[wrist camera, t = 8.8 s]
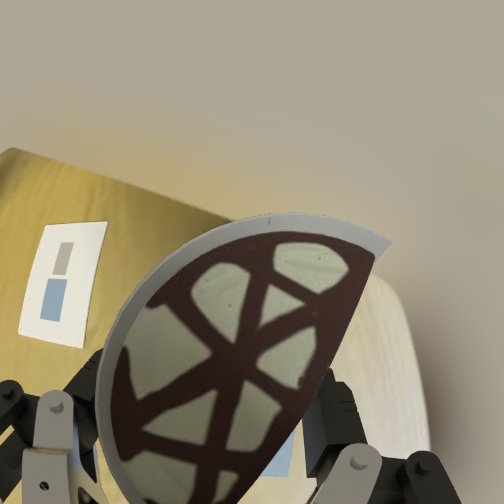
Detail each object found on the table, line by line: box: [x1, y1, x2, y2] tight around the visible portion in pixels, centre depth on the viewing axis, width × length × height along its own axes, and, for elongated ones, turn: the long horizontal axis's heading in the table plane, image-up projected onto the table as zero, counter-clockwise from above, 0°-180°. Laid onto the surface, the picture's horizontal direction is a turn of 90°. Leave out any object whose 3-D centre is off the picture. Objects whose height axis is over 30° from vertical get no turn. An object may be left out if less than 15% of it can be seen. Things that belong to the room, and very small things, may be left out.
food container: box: [95, 212, 392, 504], centre depth 10 cm, size 12×6×10 cm, turn 148°
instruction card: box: [18, 221, 109, 349], centre depth 23 cm, size 10×14×1 cm
